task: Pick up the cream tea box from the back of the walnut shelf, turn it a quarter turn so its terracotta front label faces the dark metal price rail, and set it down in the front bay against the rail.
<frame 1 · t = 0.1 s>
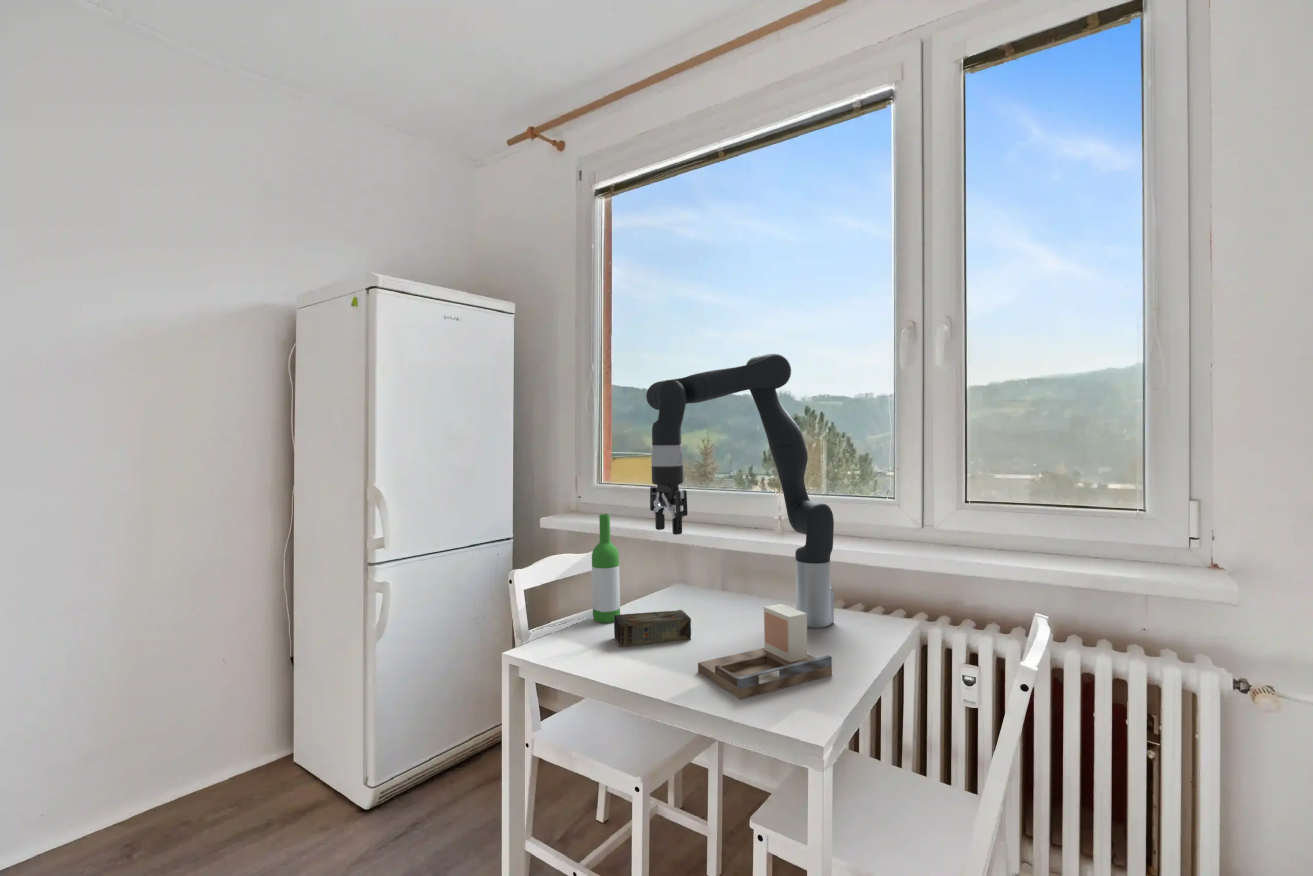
hand: (668, 531, 145), 29 cm above the table, tool pointing down, fingers open, 8 cm apart
beverage carton: (652, 640, 156), on the table
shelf: (764, 673, 132), on the table
tea box: (785, 653, 138), point 2 cm above the table, touching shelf
wine bottle: (606, 620, 172), on the table
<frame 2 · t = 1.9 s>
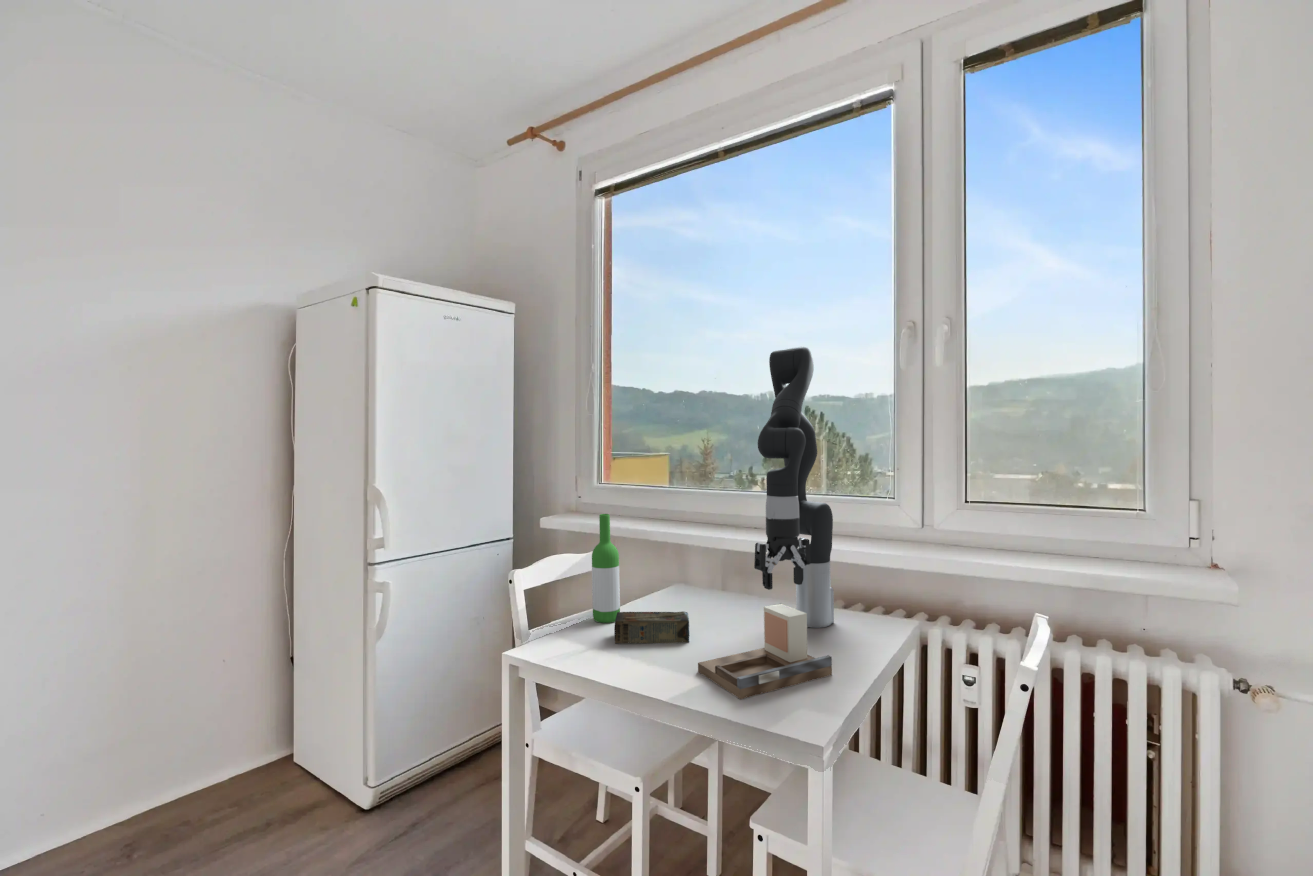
hand: (783, 586, 138), 17 cm above the table, tool pointing down, fingers open, 8 cm apart
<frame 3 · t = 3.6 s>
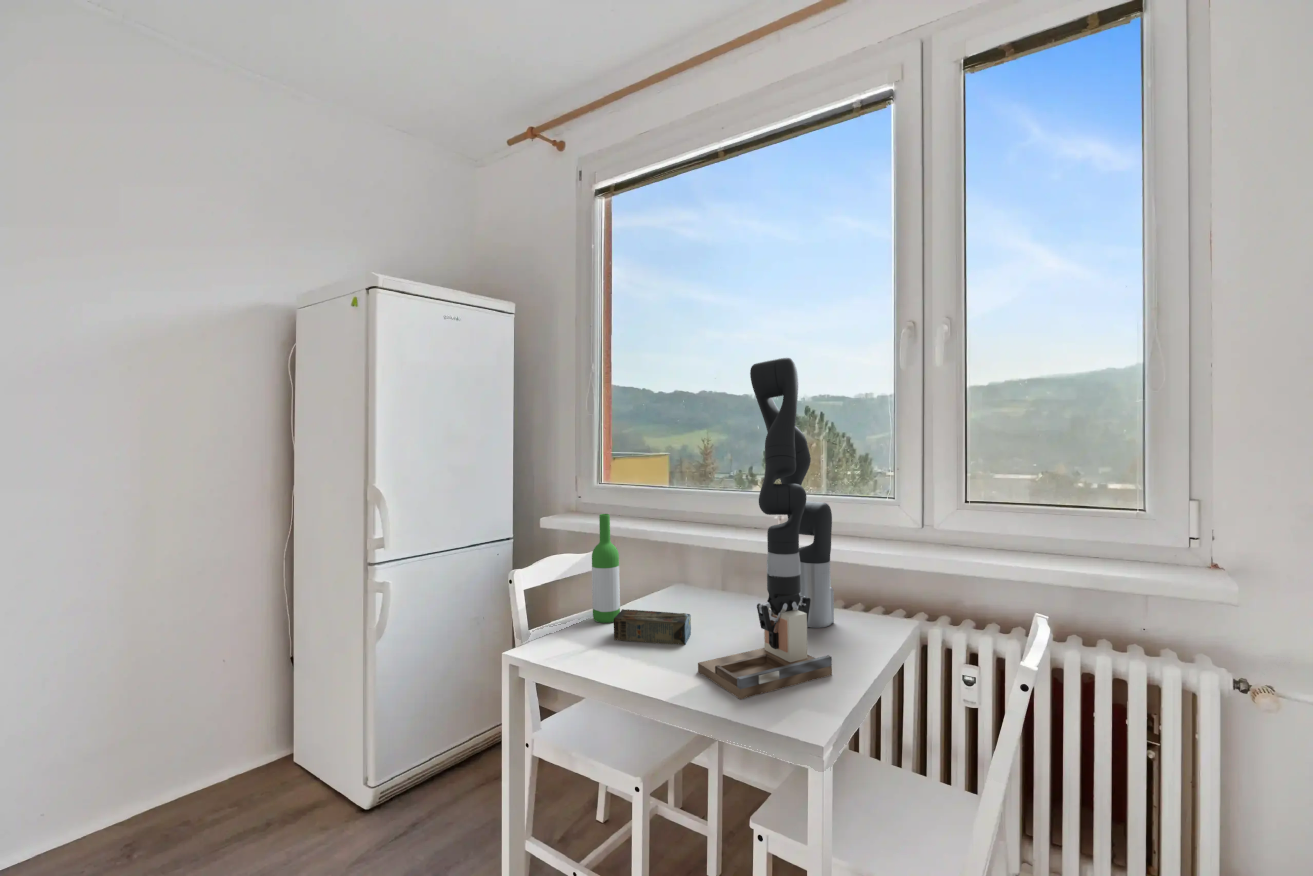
hand: (784, 645, 138), 4 cm above the table, tool pointing down, fingers closed on tea box, 5 cm apart
tea box: (785, 653, 138), point 2 cm above the table, touching gripper, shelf
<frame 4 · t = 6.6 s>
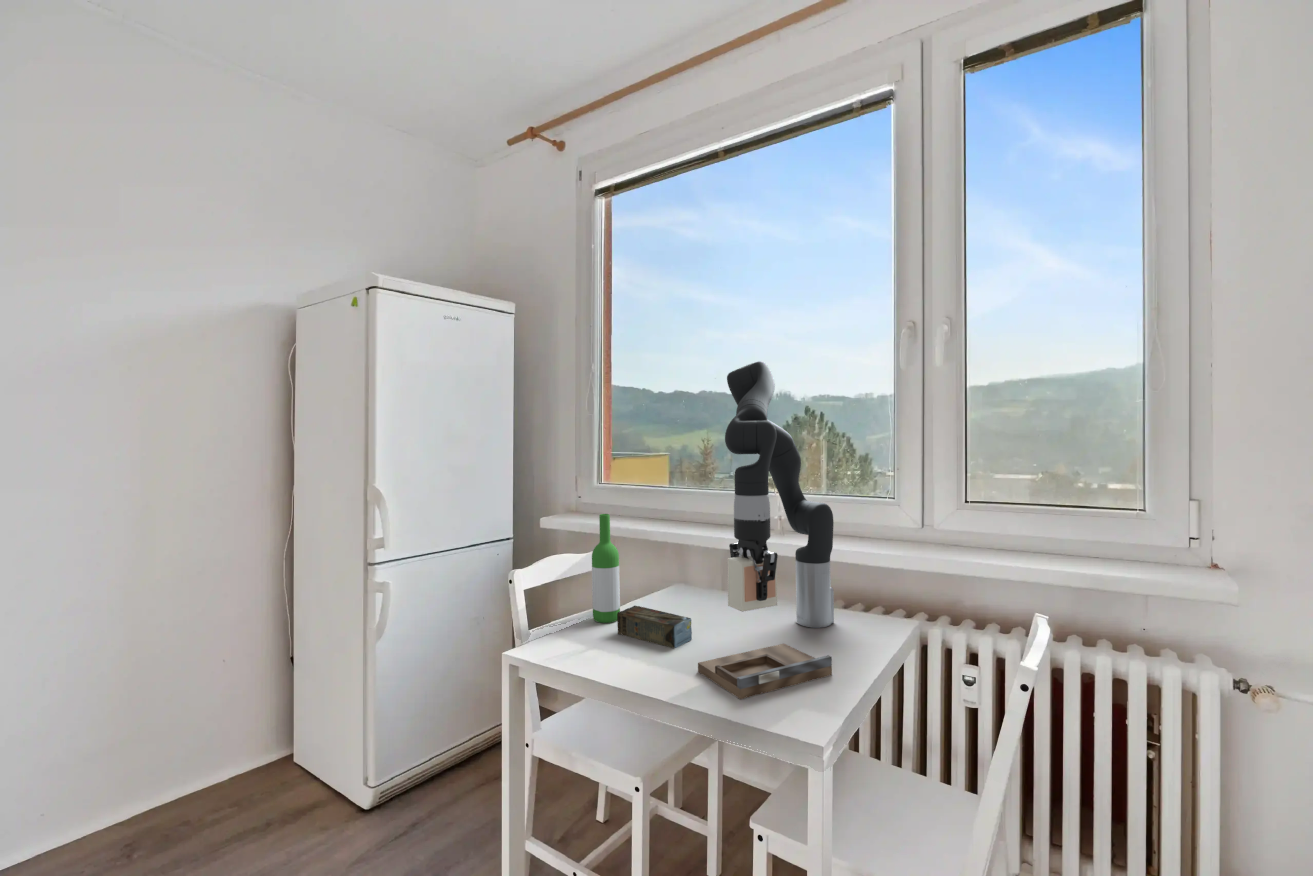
hand: (753, 596, 127), 18 cm above the table, tool pointing down, fingers closed on tea box, 5 cm apart
tea box: (752, 605, 127), point 16 cm above the table, touching gripper
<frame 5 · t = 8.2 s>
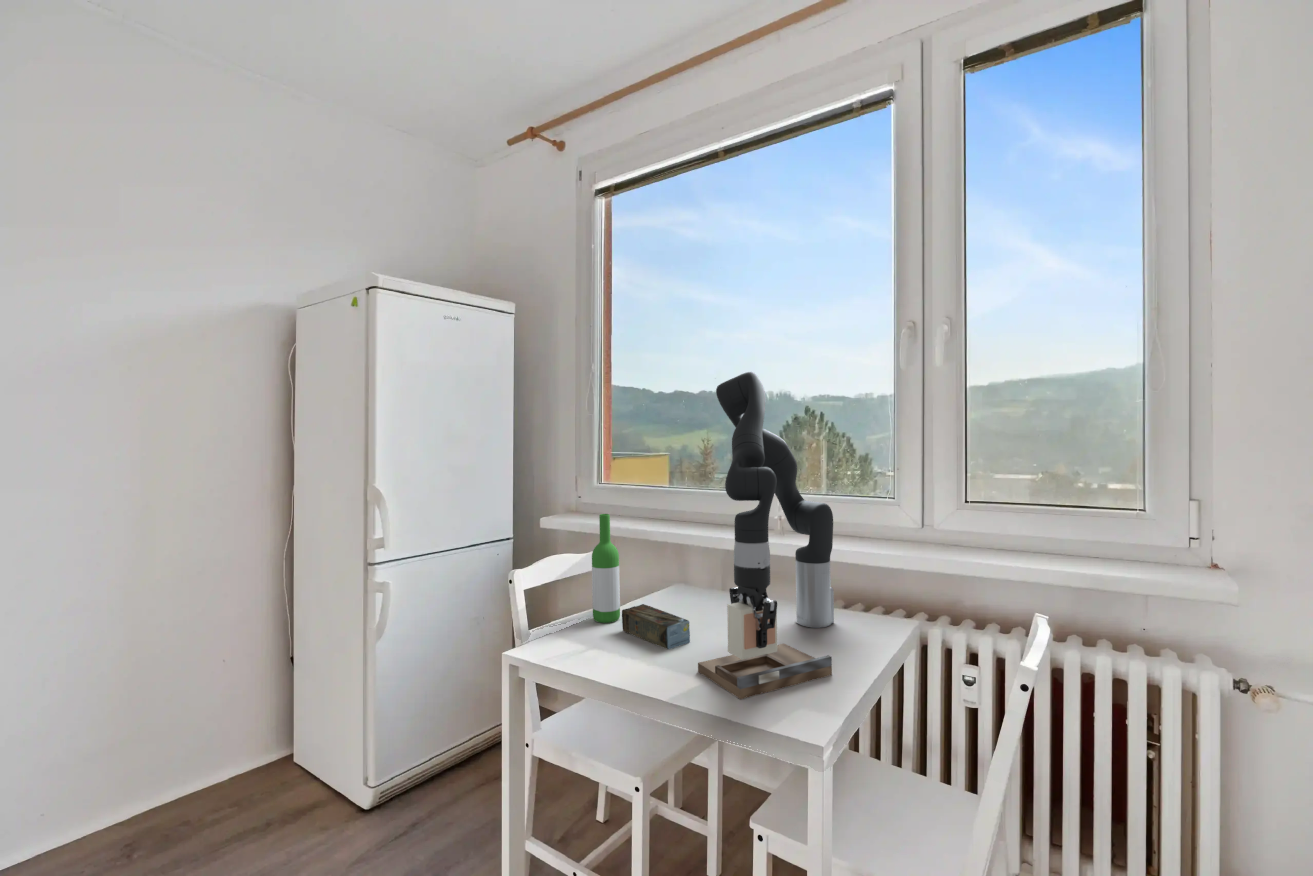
hand: (752, 642, 127), 9 cm above the table, tool pointing down, fingers closed on tea box, 5 cm apart
tea box: (752, 651, 127), point 7 cm above the table, touching gripper
when the fingers open (5 cm above the table, at t = 9.5 s): tea box stays where it is, resting on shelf.
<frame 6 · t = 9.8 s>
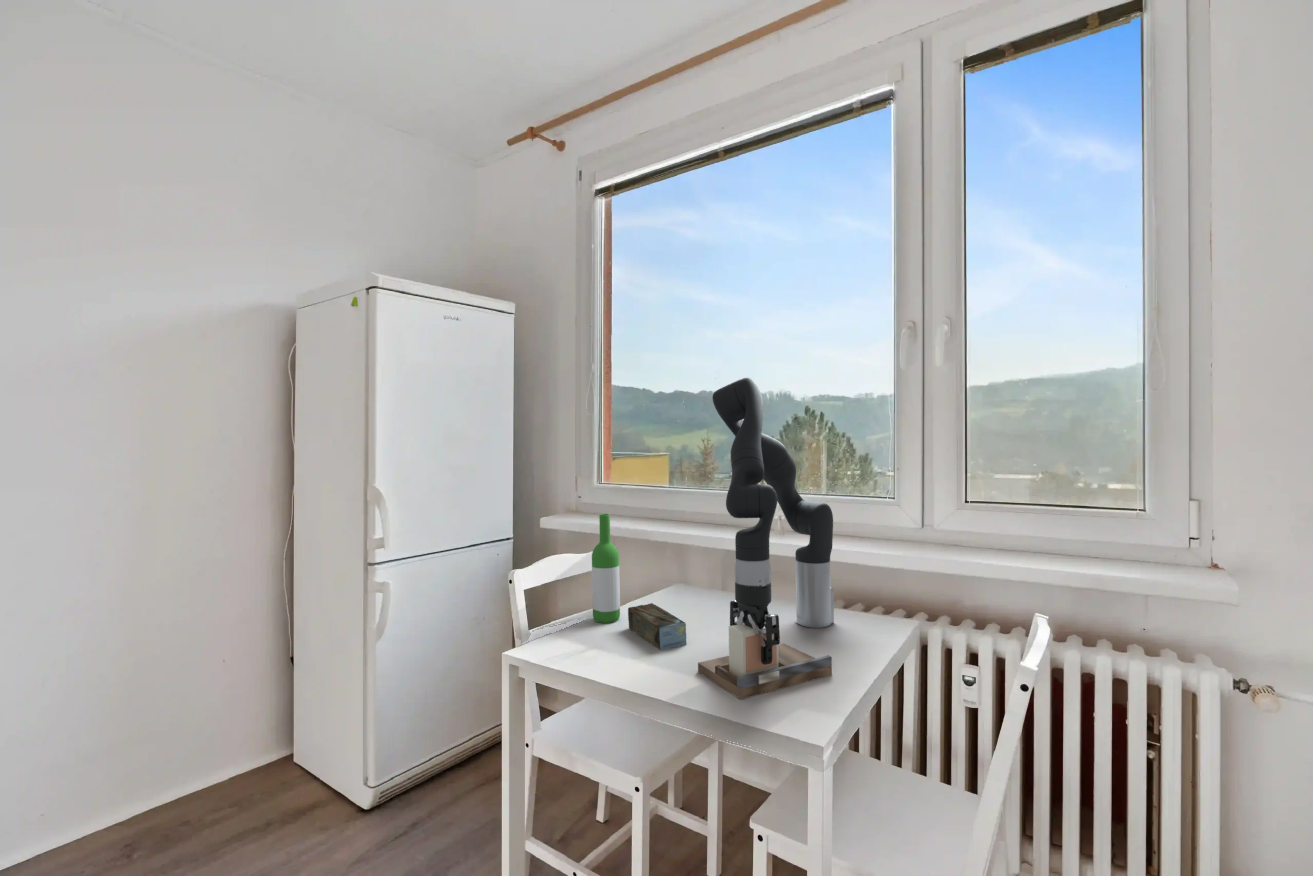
hand: (754, 657, 127), 6 cm above the table, tool pointing down, fingers open, 8 cm apart
tea box: (754, 673, 127), point 2 cm above the table, touching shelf
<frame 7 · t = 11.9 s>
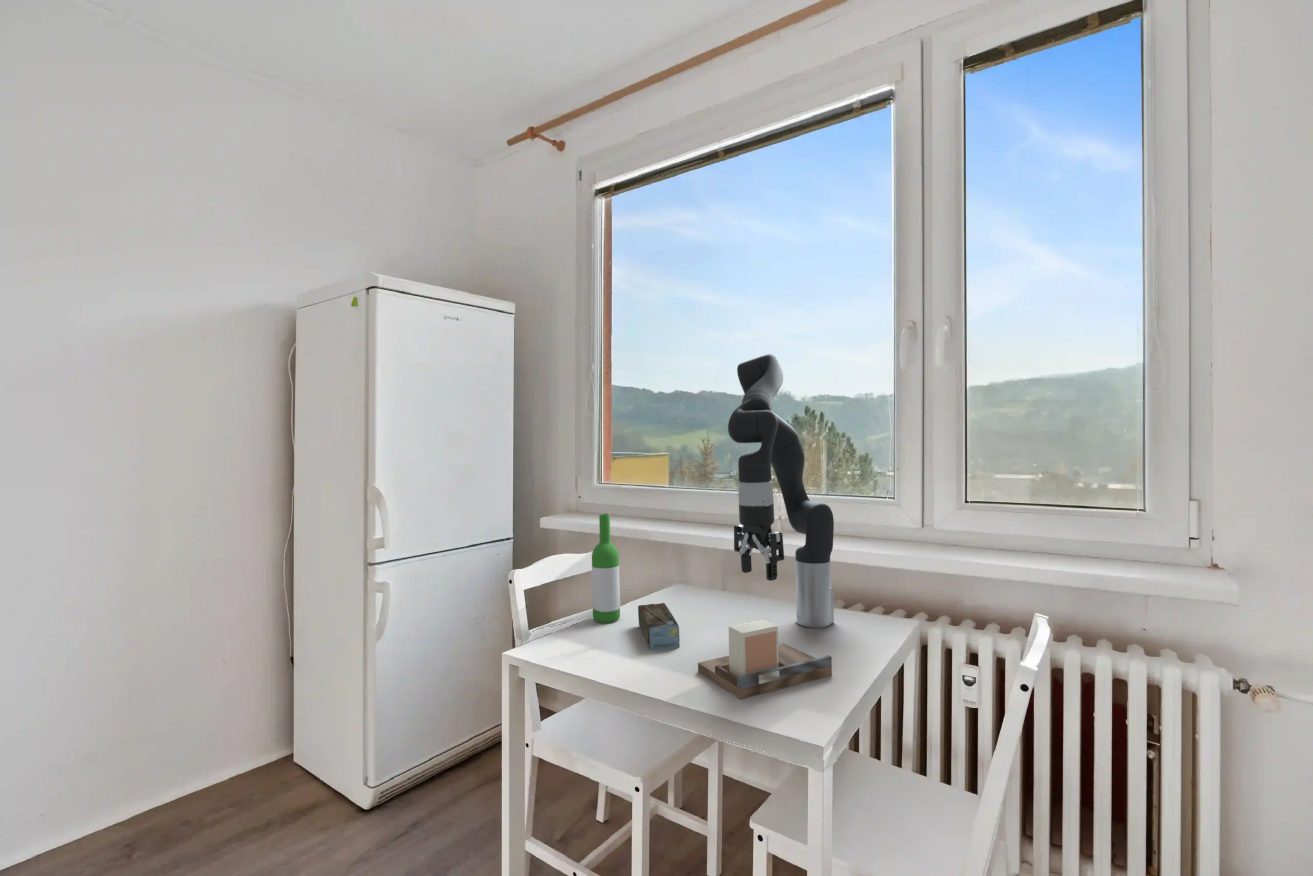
hand: (759, 576, 132), 21 cm above the table, tool pointing down, fingers open, 8 cm apart
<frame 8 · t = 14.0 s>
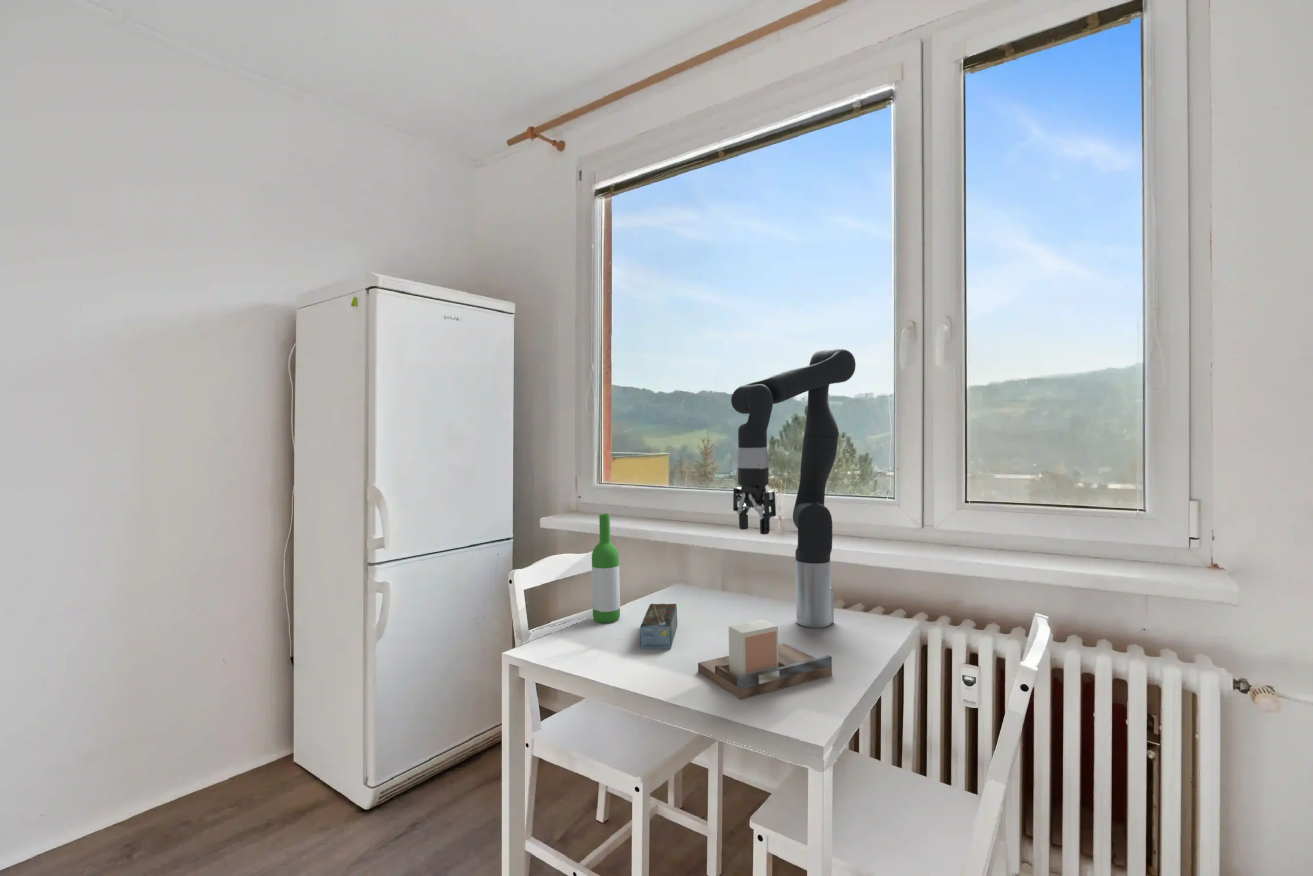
hand: (754, 531, 149), 28 cm above the table, tool pointing down, fingers open, 8 cm apart
at the end: tea box 0.1 cm from the target spot on the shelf, point 2.0 cm above the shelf's base; tea box tilted 0°; the gripper is holding nothing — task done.
